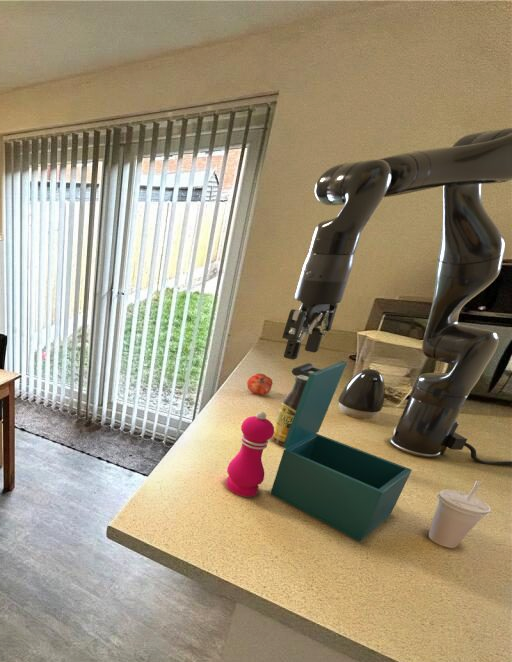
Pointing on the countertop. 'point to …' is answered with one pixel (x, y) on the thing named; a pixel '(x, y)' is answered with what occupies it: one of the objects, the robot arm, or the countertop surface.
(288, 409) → the sauce bottle
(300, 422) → the lid
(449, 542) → the smoothie
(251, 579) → the countertop surface
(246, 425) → the pepper mill
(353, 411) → the black dome
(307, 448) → the cool box
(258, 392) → the tomato
